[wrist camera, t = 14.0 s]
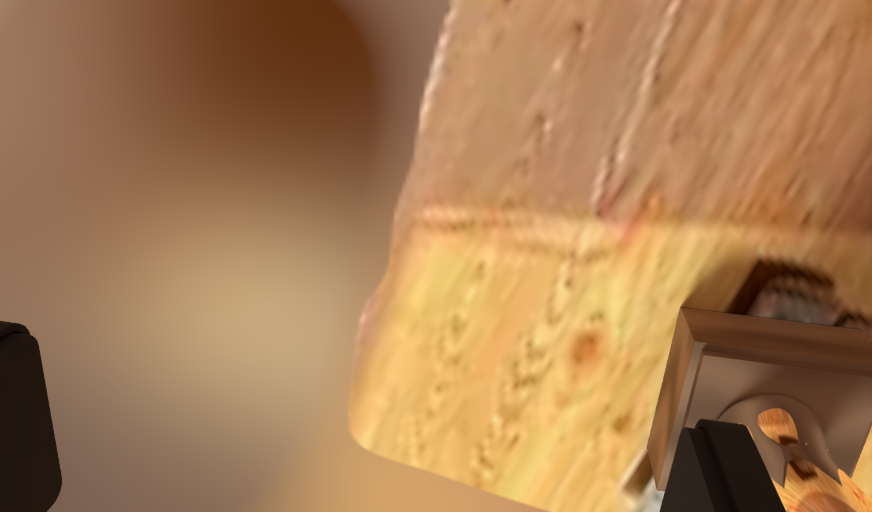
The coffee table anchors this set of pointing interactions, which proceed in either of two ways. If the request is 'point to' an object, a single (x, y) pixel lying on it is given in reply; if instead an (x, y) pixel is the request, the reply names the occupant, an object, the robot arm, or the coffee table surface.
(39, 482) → the robot arm
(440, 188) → the coffee table surface
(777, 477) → the beer glass
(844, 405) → the plinth
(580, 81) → the coffee table surface
